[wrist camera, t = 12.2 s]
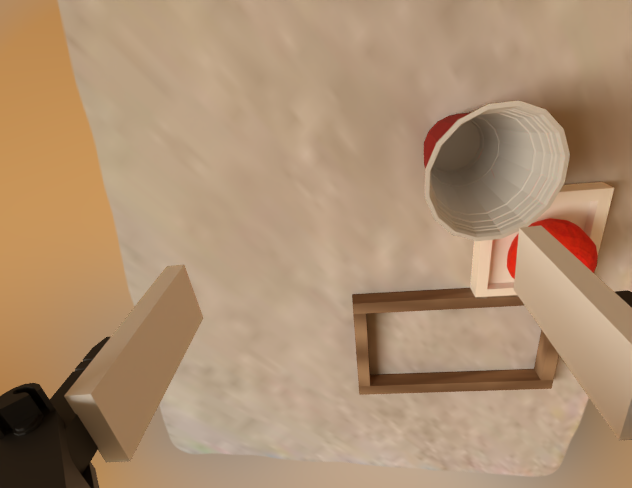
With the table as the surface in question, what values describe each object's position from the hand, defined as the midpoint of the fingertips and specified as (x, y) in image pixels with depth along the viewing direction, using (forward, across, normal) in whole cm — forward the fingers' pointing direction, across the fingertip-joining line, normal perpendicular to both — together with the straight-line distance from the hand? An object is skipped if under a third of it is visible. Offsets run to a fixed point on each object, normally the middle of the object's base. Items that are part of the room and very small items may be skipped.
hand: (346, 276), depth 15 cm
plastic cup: (+27, +11, -3) cm, 30 cm away
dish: (+27, +19, -14) cm, 36 cm away
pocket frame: (+27, +11, -28) cm, 40 cm away
